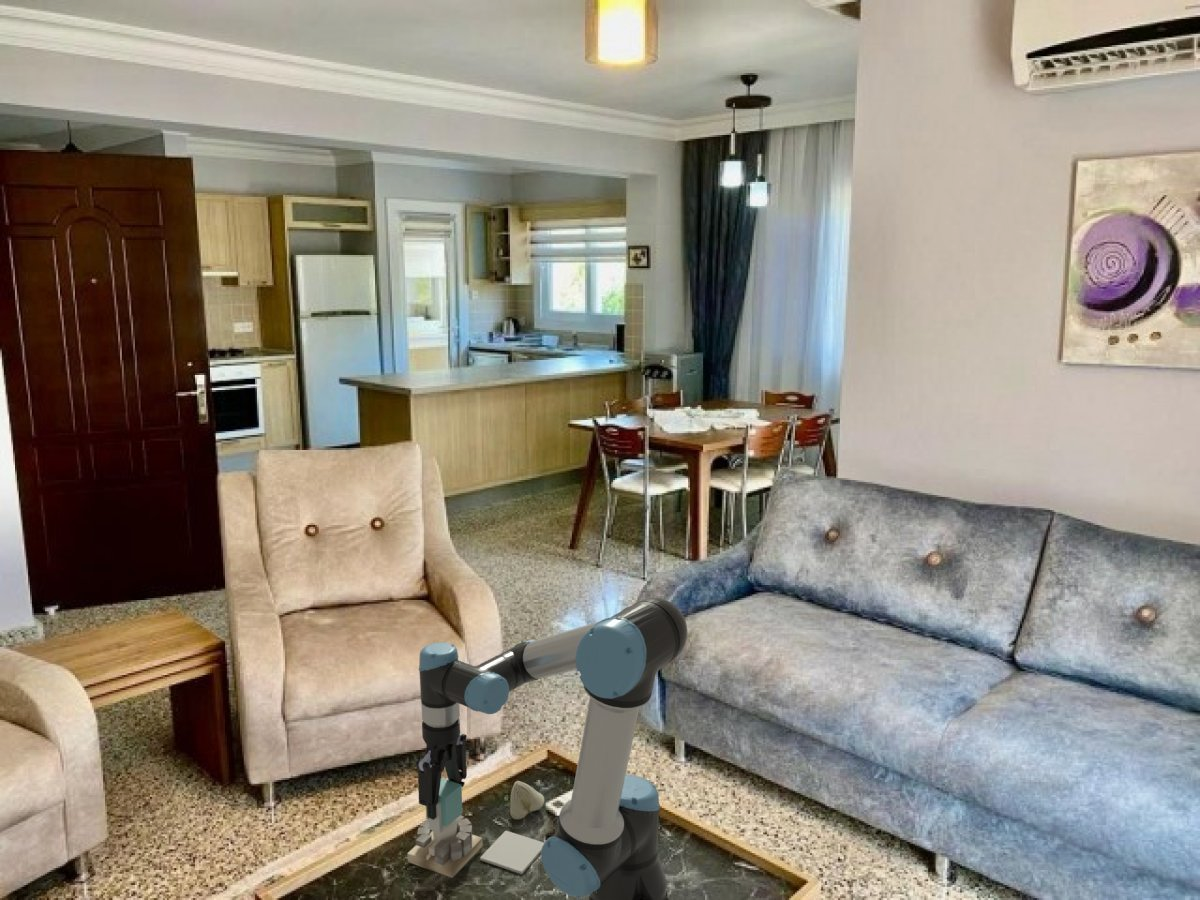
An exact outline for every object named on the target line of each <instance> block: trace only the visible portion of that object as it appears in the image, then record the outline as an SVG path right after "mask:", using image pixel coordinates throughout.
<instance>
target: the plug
mask: <svg viewBox="0 0 1200 900" xmlns="http://www.w3.org/2000/svg"><path fill="white" fill-rule="evenodd" d="M462 788H463V787H462V785H460V784H457V783H455V782H452V781H449V780H448V779H445V778H444V777H441V782H440V790H439V797H438V802H441V821H442V832H440V833H438V832H435V831H433V838H434V844H433V845H432V846H431V847H429V854H430V855H433V856H435V848H434V846H435V845H436V844H437V843H438V842H440V841H441V840H442V839H443V840H446V839H449V838H451V837H454V836H456V835H457V821H456V818H457V817H459V816H460V815H461V816H462V814H463V791H462V790H463V789H462ZM425 814H426V816H425V817H426V818H425V820H429V818H428V817H427V806H425Z"/></svg>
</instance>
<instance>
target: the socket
mask: <svg viewBox="0 0 1200 900" xmlns="http://www.w3.org/2000/svg"><path fill="white" fill-rule="evenodd" d="M456 821H457V835H456V836H454V837H451V838H449V839H446V840H443V839H442V840H441V841H440V842H438V843H437V844H436V845H435V846H434V848H435V856H433V855H430V854H429V847H431V846H432V845H433V844H434V838H433V830H430V829H429V820H428V819H425V820H424V821H423V822H422V823H420V825H419V827H418V829H417V833H416V834H417V835H416V836H417V837H416V839H415V845H414V847H413V848H411V849H410V850H409V851H408V852H407V853H406V854H407V862H408V863H409V864H412V865H416V866H418V867H421V868H422V869H423V868H424V869H426V870H429V871H432V872H435V873H438V874H441V875H442V876H443V875H444V876H446V877H449V878H451V879H452V878H453V879H454V877H455V876H456V875H457V873H459V872H460V871H461V870H462V868H464V866H466V865H467V864H468V862H469V861H470V860H471V859H472V858H473V857H474V856H475V855H476V854H477V853H478V852H479V851H480V850H481V848H483V837H481V836H478V835H476V834H473V825H472V822H471V821H470V820H469V819H468V818H467V817H466V818H465V816H463V815H462V814H461V815H460V816H459V817H458V818H456Z"/></svg>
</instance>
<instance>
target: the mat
mask: <svg viewBox="0 0 1200 900" xmlns="http://www.w3.org/2000/svg"><path fill="white" fill-rule="evenodd" d="M544 843H545V842H543V841H539V840H538V839H537V840H536V839H534V838H530V837H527V836H524V835H521V834H518V833H515V832H511V831H510V830H509V831H508V830H505V831H504V832H503V833H502V834H501V835H500V836H499V837H498V838H497V839H496V840H495V841H494V842H493V843H492V844H491V845H490V846H489V847H488V849H486V851H485V852H484V853H483V854H482V855H481V856H480V857H479V859H480V860H479V861H482V862H485V863H487V864H491V865H493V866H497V867H499V868H503V869H505V870H508V871H511V872H514V873H517V874H520V875H523V874H524V873H525V872H526V871H527V869H528V868H529V867H530V866H531V864H532V863H533V862H534V861H535V860H536V859H537V857H539V855H541V850H542V847H543V845H544Z"/></svg>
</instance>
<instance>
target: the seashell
mask: <svg viewBox="0 0 1200 900" xmlns="http://www.w3.org/2000/svg"><path fill="white" fill-rule="evenodd" d="M509 800H510V802H509V804H510V812H509V813H510V816H511V819H514V820H522V819H523V818H525V817H526V816H527V815H528V814H530V813H531V814H532V812H535V811H539V810H540V809H541V808H542V807H543V806H544V803H545V797H544V795H543V794H542V793H541V792H538V791H537V790H536V789H535V788H534V787H533V786H530V785H529V784H527V783H525V782H524V781H523V782H522V781H520V780H516V781H515V782H514V784H513V786H512V787H511V792H510V799H509Z"/></svg>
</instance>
